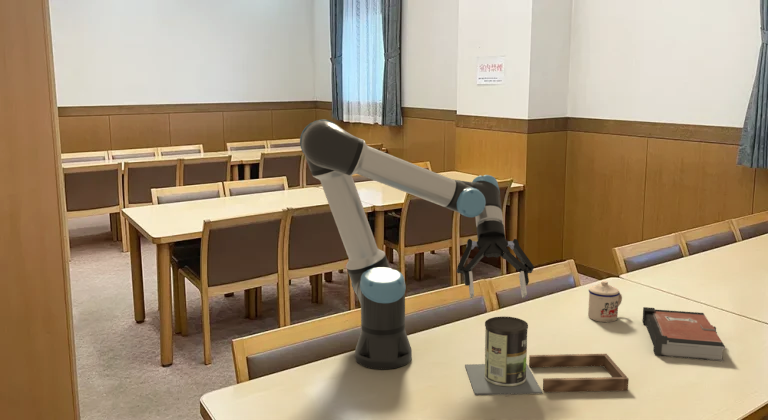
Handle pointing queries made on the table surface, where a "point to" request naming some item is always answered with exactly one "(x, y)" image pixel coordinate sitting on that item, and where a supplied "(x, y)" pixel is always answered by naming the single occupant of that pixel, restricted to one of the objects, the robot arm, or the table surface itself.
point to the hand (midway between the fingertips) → (498, 296)
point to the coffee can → (505, 351)
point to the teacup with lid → (604, 302)
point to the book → (682, 334)
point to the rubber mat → (487, 388)
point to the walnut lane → (580, 384)
